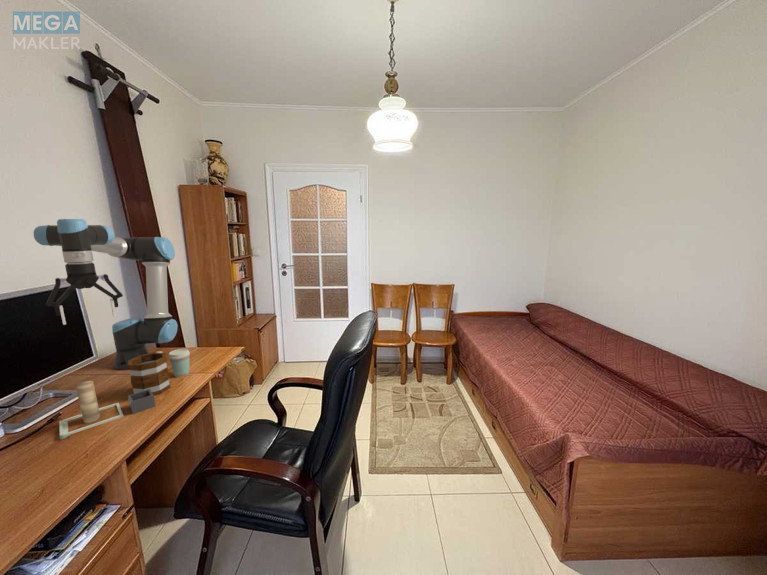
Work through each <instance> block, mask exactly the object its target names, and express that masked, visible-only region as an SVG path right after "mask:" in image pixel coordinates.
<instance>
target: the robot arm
mask: <svg viewBox="0 0 767 575" xmlns="http://www.w3.org/2000/svg"><path fill="white" fill-rule="evenodd" d="M33 239H34V240H35V242H36V243H38V245H39V244H40V245H41V246H49V247H53V246H56V247H57V246H59V247H61V252H62V257H63V262H64V263H65V265H64V267H65V272H66V278H63V277H62V278H60V277H56V278H54V279H55V283H54V284H55V285H54V287H53V288H52V291H51V293H50V295H49V296H48V298H47V300H46V303H45V306H46V307H52V308H54V311H55V315H56V316H57V317H58V316H61V320H62V321H61V322H62V325H63V326H65V325H67V321H66V317H65V313H64V307H63V305H61V304H63V302H65V300H66V299H67V297H69V295H70V294H71V293H72V292H73V291H74V290H77V289H78V290H82V289H83V290H84V289H92V288H93V287H94V288H96V289H97V290H99V291H101V292H102V293H104V294H105V295H107V296H108V297H109V298H110V299H109V300H110V307H111V312H112V316H113V317H117V312H116V308H118V307H119V302H118V299H119V298H122V297H123V295H124V294H123V293H122V292H121V291H120V290H119V289H118V288H117V287H116V285H114V284H113V282H112V281H111V280H110V278H109V275H108V274H106V273H103V274H101V275H98V274H97V272H96V266H95V263H94V256H93V252H97V253H101V254H102V253H103V254H108V256H110V257H114V258H121V259H126V260H131V261H141V264H142V265H143V266H145V276H146V277H145V278H146V279H145V280H146V285H145V286H146V309H147V310H146V312H147V314H146V315H145V316H144V317H143V319H142V317H132V318H131V317H130V318H126V319H123V320H120V321H118V322H115V323H113V324H112V329H111V330H112V331H111V332H112V335H113V343H114V347H115V352H116V353H115V356H114V357H115V358H114V361H113V367H114V369H115V370H119V371H120V370H121V371H123V370H125V371H126V370H130V369H129V367H128V361H129V360H131V359H133V358H135V357H137V356H140V355H145V354H150V351H149V349H148V347H147V346H146V345H147V344H163V343H169V342H172V341H173V340H174V339H175V337H176V335H177V332H178V327H179V325H178V322H177V321H176V319H173V315H171V313H170V312H169V302H168V300H169V299H168V296H169V295H168V294H169V292H168V271H167V270H168V268H167V267H168V266H169V265H171V261H172V260H174V259H175V256H176V251H175V247H174V245H173V243H172V241H171V240H170V239H169V238H168V237H165V236H164V237H162V236H161V237H160V236H148V237H147V236H145V237H142V236H139V237H138V236H137V237H135V236H134V237H119V236H115V232H114V231H113V230H112V228H110V227H108V226H106V225H101V224H94V225H93V224H88V223H87V221H86V220H85V219H81V218H80V219H79V218H61V219H60V218H59V219H57V221H56V225H55V224H54V225H50V224H47V225H45V224H44V225H38V226H37V227H35V228H34V230H33ZM98 280H101V281H104V282H105V283H106V284H107V285H108V286H109V287H110V288H111V289H112V291H114V292H115V294H113V293H112V292H111V291H109V290H107V289H105V288H104V287H103V286H101V285H99V284H98V283H97V282H98ZM65 282H66V283H67V284H69V285H70V286H69V287H68V288H67V289H66V290H65V291H64V292H63V294H62V295H60V296H59V298H57V300H56V301H55V302H54V300H55V298H56V296H57V294H58V291H59V290H60V289H61V288H60V287H61V285H64V283H65Z"/></svg>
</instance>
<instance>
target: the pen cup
mask: <svg viewBox="0 0 767 575" xmlns="http://www.w3.org/2000/svg"><path fill="white" fill-rule="evenodd" d="M127 398H128V403H129V404H128V405H129V408H130V410H131V411H130V412H131V413H132V415H134V414H137V413H141V412H143V411H147V410H149V409H151V408H155V407H156V402H155V400H156V399H155V396H154V395H153V393H152V392H151V390H150V389H148V390H145V391H141V392H138V393H135V394H134V393H133V394H129V395H127Z"/></svg>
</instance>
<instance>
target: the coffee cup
mask: <svg viewBox="0 0 767 575" xmlns="http://www.w3.org/2000/svg"><path fill="white" fill-rule="evenodd" d="M190 354H191V353H190V351H189V349H188V348H178V349H174V350H171V351H170V352H169V353H168V356H167V359H168V360H169V362H170V363H169V364H170V366H171V370H172V373H173V376H174V377H175V378H181V377H182V378H183V377H185V376H188V375H190Z"/></svg>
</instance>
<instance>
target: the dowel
mask: <svg viewBox="0 0 767 575" xmlns="http://www.w3.org/2000/svg"><path fill="white" fill-rule="evenodd" d="M94 383H95V382H94V381H93V380H85V381H82V382H80V383H77V384H76V385H75V388H76V389H75V390H76V393H77V398H78V402H79V408H80V412H81V414H82V422H83V423H84V424H90V423H91V424H92V423H94V422H97V421H98V420H100V418H101V413H100V411H99V408H100V407H99V404H98V403H99V402H98V398H97V394H96V388H95V384H94Z"/></svg>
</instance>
